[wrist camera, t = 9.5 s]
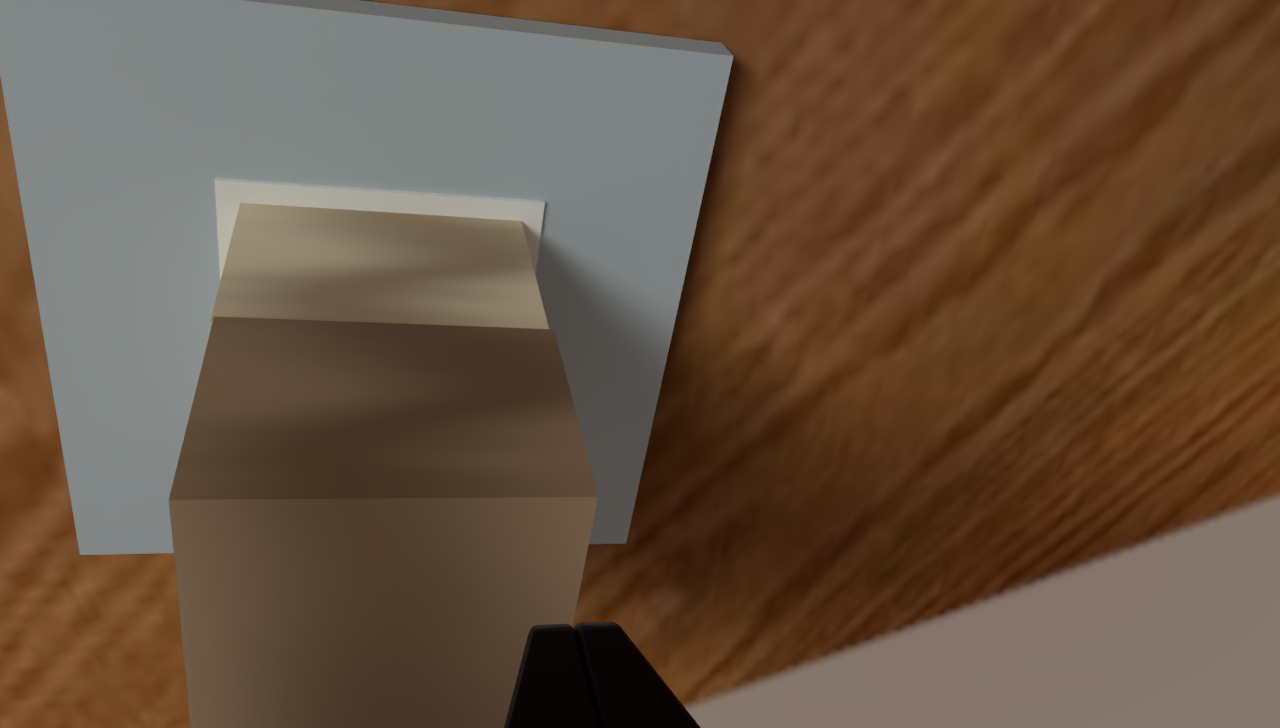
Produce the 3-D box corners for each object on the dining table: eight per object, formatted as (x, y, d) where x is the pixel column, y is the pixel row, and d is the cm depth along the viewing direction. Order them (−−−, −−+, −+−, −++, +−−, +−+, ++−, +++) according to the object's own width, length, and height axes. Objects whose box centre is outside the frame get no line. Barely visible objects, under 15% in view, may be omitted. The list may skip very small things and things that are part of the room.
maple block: (521, 220, 19) (550, 333, 16) (496, 430, 22) (516, 562, 19) (239, 202, 18) (210, 321, 15) (249, 427, 21) (225, 570, 17)
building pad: (721, 42, 19) (735, 57, 18) (620, 521, 26) (626, 546, 25) (-2, -42, 16) (-19, -28, 15) (88, 529, 22) (79, 558, 22)
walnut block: (553, 329, 16) (598, 496, 13) (519, 559, 19) (548, 746, 16) (213, 316, 15) (168, 499, 12) (228, 566, 17) (195, 772, 14)
